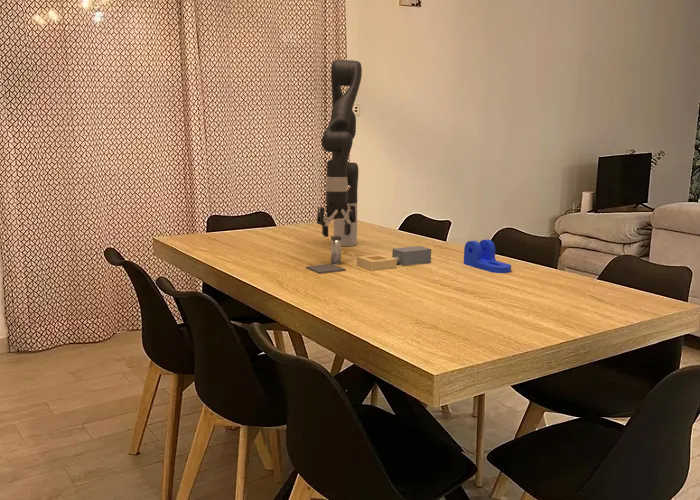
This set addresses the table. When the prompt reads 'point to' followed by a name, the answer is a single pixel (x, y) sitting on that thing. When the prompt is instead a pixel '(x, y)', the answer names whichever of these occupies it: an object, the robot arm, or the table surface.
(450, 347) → the table surface
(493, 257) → the bracket
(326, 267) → the mat
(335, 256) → the square capped bottle
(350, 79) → the robot arm
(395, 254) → the tray with grey block
